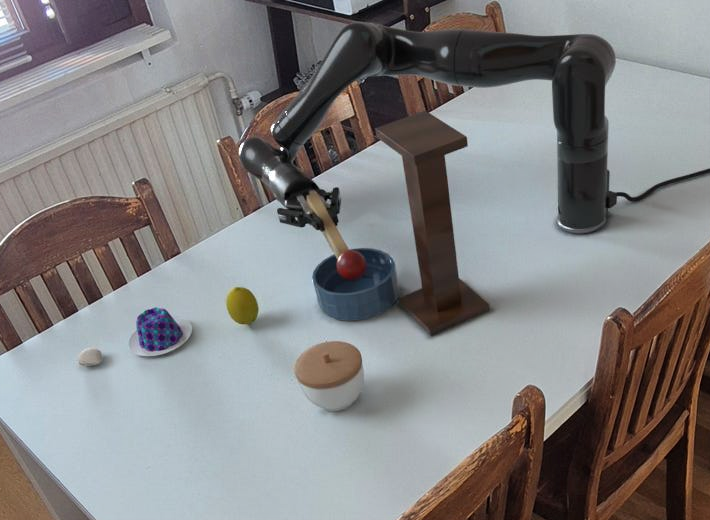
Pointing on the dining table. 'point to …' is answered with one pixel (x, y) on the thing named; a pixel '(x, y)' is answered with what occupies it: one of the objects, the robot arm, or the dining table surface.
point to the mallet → (338, 243)
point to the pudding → (158, 333)
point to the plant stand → (432, 221)
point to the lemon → (242, 305)
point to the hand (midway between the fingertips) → (328, 224)
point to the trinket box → (330, 374)
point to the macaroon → (90, 357)
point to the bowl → (357, 287)
